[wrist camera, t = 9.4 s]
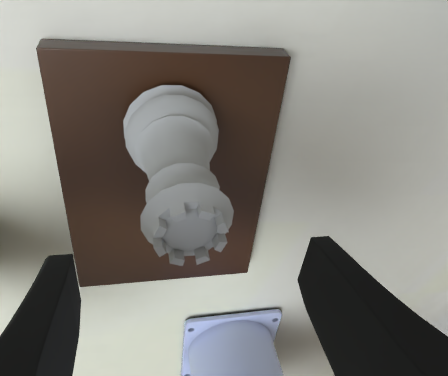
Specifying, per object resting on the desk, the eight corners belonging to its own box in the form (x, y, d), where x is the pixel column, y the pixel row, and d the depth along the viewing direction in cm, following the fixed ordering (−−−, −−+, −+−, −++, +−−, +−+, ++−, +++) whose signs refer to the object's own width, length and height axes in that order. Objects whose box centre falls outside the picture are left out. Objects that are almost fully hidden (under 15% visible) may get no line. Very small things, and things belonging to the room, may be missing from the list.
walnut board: (243, 259, 28) (247, 272, 27) (81, 272, 26) (79, 287, 25) (283, 48, 19) (291, 56, 18) (40, 38, 17) (35, 47, 16)
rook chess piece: (180, 175, 21) (203, 297, 15) (105, 136, 19) (94, 260, 13) (233, 112, 19) (283, 220, 13) (157, 60, 17) (174, 161, 11)
